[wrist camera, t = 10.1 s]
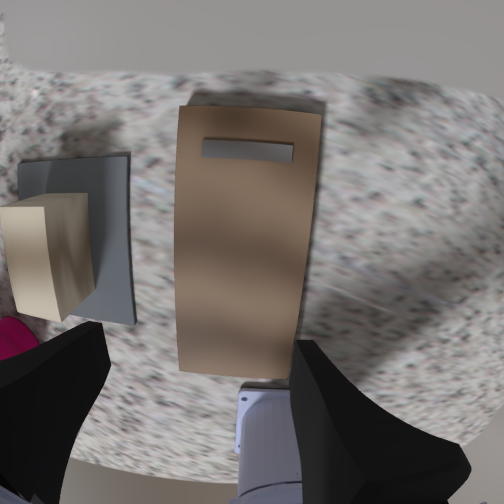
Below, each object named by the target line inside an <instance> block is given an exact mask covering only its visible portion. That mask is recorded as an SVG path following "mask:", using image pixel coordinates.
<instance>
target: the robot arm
mask: <svg viewBox="0 0 504 504" xmlns="http://www.w3.org/2000/svg"><path fill="white" fill-rule="evenodd" d="M110 367H111V362H110V358H109V354H108V349H107V345H106V340H105V336H104V331H103V326H102V323H99V322H92V321H87V322H85V323H82V324H80V325H78V326H76V327H74V328H72V329H70V330H68V331H66V332H64V333H62V334H60V335H58V336H56V337H54V338H52V339H51V340H49V341H47V342H45V343H42V344H40V345H38V346H36V347H34V348H32V349H30V350H27V351H25V352H23V353H20V354H18V355H15V356H12V357H10V358H7V359H4V360H0V504H59V500H60V494H61V488H62V483H63V479H64V474H65V470H66V467H67V463H68V459H69V457H70V453H71V450H72V448H73V445H74V442H75V439H76V437H77V434H78V432H79V430H80V428H81V426H82V424H83V422H84V420H85V418H86V416H87V415H88V413H89V411H90V409H91V407H92V406H93V404H94V402H95V400H96V399H97V397H98V395H99V393H100V391H101V389H102V388H103V386H104V383H105V381H106V378H107V376H108V373H109V370H110ZM243 397H246V398H243ZM235 452H236V453H237V454H240V456H239V474H238V492H237V498H231V499H228V504H449V503H448V501H447V500H448V499H449V498H450V497H451V496H452V495H453V494H454V493H455V492H456V491H457V490H458V489H459V488H460V487H461V486H462V485H463V484H464V482H465V481H466V480H467V479H468V477H469V475H470V473H471V465H470V463H469V461H468V459H467V458H466V456H465V454H464V452H463V450H462V448H461V447H460V445H459V444H457V443H454V442H451V441H448V440H445V439H442V438H439V437H436V436H433V435H431V434H428V433H426V432H424V431H422V430H420V429H417V428H415V427H413V426H411V425H409V424H407V423H405V422H404V421H402V420H400V419H398V418H397V417H395V416H394V415H392V414H390V413H389V412H387V411H386V410H384V409H383V408H381V407H380V406H378V405H377V404H376V403H374V402H373V401H372V400H370V399H369V398H368V397H367V396H365V395H364V394H363V393H362V392H361V391H359V390H358V389H357V388H356V387H355V386H354V385H353V384H352V383H351V382H350V381H349V380H348V379H347V378H346V377H345V376H344V375H343V374H342V373H341V372H340V371H339V370H338V369H337V368H336V367H335V365H334V364H333V363H332V362H331V361H330V360H329V359H328V357H327V356H326V355H325V354H324V353H323V351H322V350H321V349H320V348H319V346H318V345H317V344H316V343H315V342H314V341H313V340H296V342H295V349H294V355H293V362H292V368H291V374H290V381H289V390H276V389H254V388H242V389H240V390H239V395H238V410H237V425H236V440H235ZM481 504H487V502H482V503H481Z"/></svg>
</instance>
